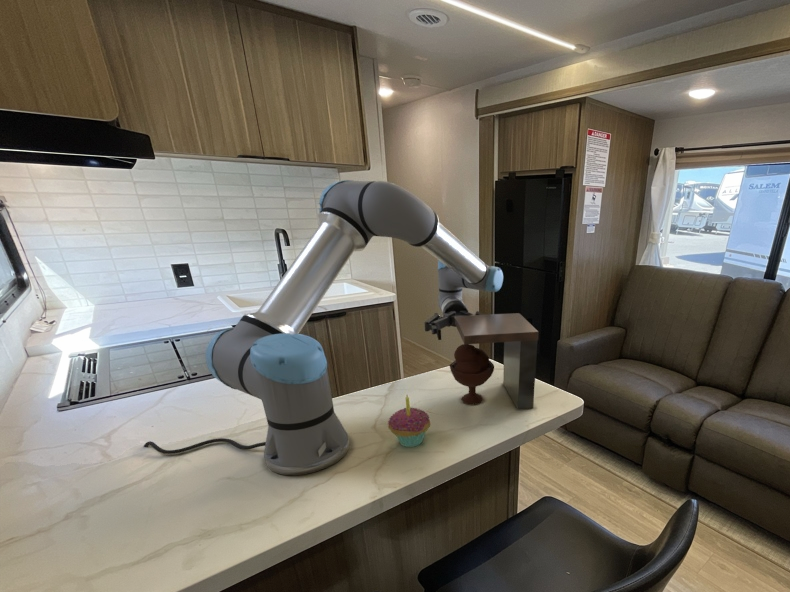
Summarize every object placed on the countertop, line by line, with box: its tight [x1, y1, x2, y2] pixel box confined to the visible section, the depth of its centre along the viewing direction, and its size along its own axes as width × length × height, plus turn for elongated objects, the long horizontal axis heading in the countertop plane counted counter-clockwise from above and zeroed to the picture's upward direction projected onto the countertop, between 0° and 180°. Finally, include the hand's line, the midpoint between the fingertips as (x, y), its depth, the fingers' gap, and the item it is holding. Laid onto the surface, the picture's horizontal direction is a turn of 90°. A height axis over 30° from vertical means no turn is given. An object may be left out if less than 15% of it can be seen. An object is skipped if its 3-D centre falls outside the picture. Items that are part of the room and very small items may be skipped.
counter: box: [455, 312, 540, 411], centre depth 100 cm, size 17×16×20 cm
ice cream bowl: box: [449, 343, 495, 406], centre depth 100 cm, size 11×11×15 cm
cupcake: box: [387, 394, 431, 448], centre depth 83 cm, size 9×8×12 cm
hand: (465, 333), depth 105 cm, fingers open, 13 cm apart
